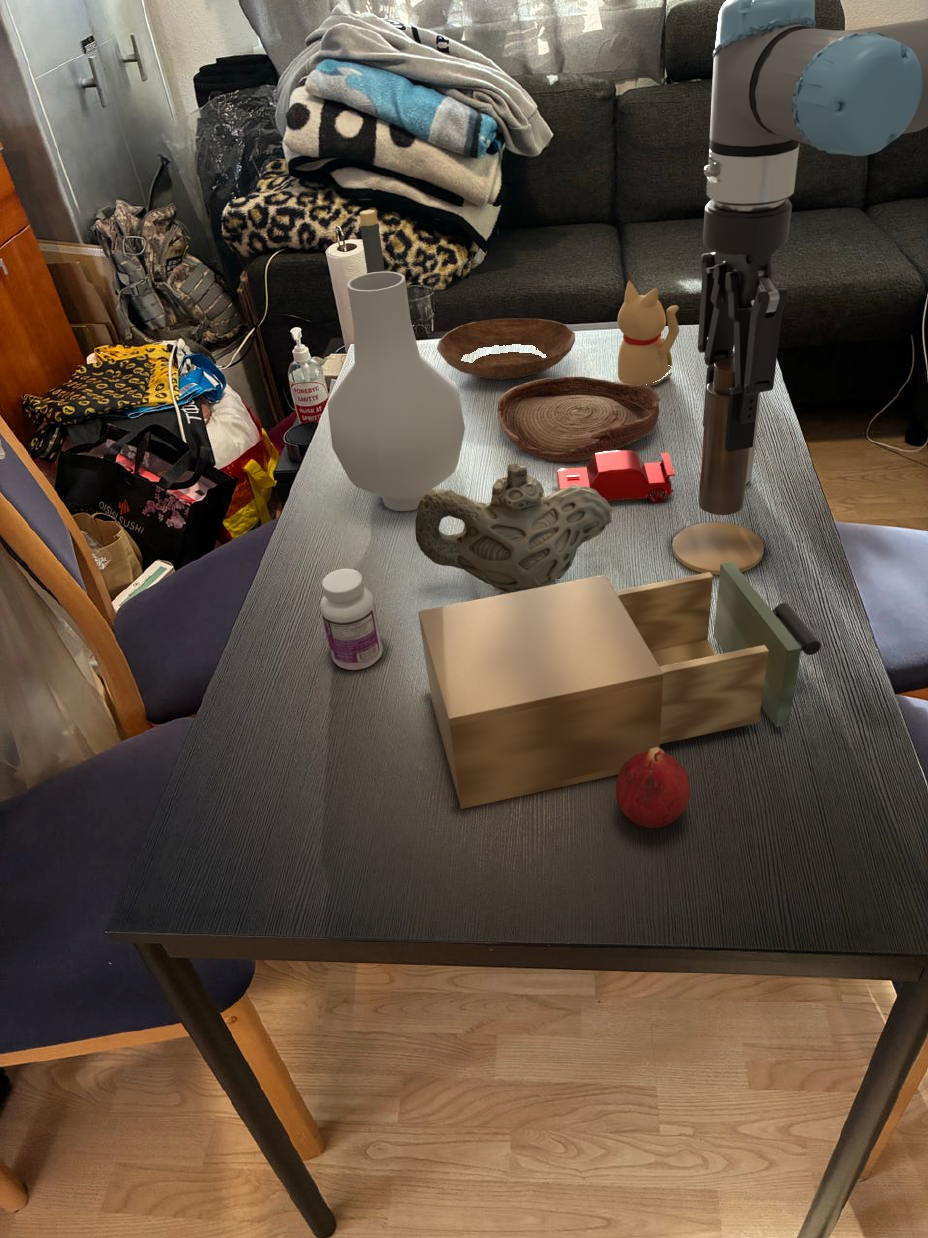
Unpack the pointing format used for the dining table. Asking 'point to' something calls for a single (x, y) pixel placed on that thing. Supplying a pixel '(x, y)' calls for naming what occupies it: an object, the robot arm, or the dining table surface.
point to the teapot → (512, 530)
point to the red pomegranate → (652, 788)
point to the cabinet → (540, 688)
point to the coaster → (717, 547)
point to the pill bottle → (350, 620)
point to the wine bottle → (371, 242)
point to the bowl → (501, 332)
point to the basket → (576, 416)
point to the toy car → (621, 476)
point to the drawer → (726, 683)
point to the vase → (393, 401)
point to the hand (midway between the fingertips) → (727, 435)
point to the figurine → (645, 338)
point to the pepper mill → (721, 449)
